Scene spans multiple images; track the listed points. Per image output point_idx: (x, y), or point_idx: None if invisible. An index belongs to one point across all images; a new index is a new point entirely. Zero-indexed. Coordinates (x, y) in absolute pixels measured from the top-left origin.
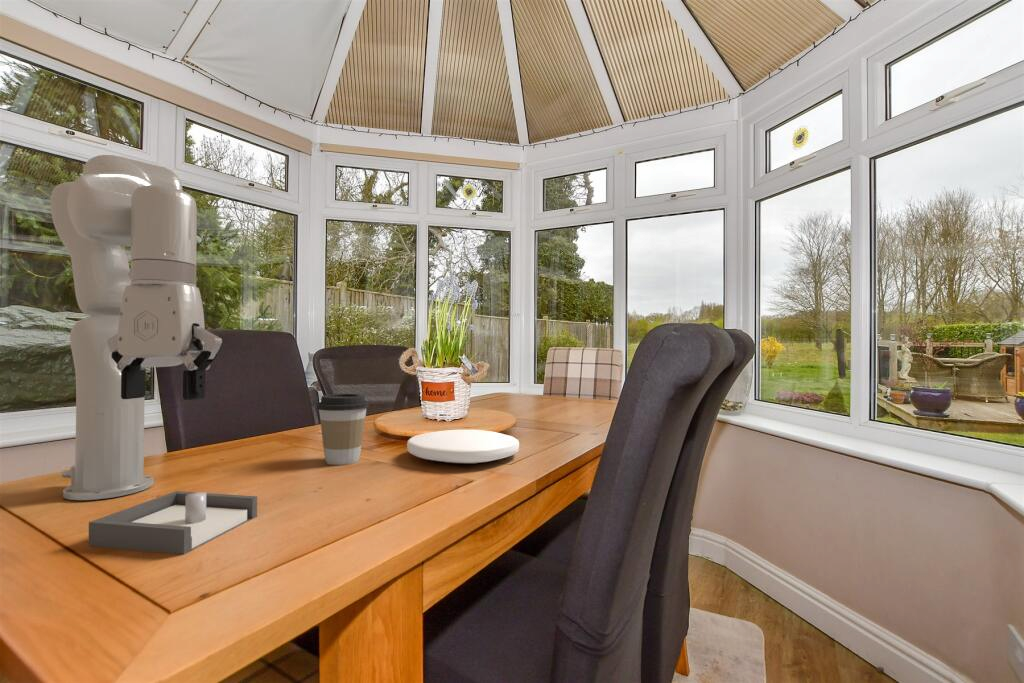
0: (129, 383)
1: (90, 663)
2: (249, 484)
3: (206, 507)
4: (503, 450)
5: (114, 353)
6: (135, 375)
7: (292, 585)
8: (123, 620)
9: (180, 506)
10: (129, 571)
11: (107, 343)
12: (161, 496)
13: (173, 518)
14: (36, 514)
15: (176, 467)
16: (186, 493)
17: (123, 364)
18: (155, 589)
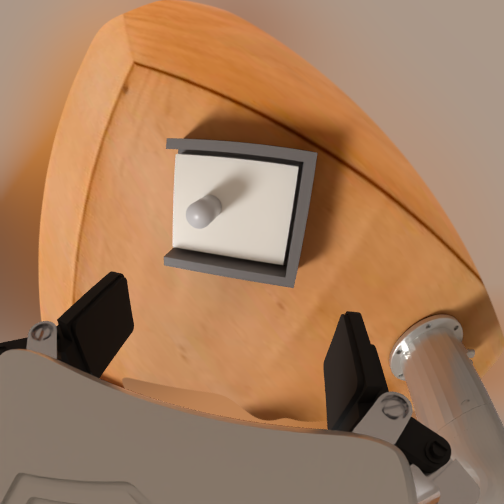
0: (347, 357)
1: (146, 11)
2: (276, 374)
3: (231, 254)
4: None
5: (440, 457)
6: (341, 397)
7: (77, 122)
8: (160, 45)
9: (270, 258)
10: (225, 112)
11: (477, 485)
12: (298, 263)
13: (245, 212)
14: (457, 274)
15: None
16: (270, 277)
17: (382, 415)
18: (170, 86)
